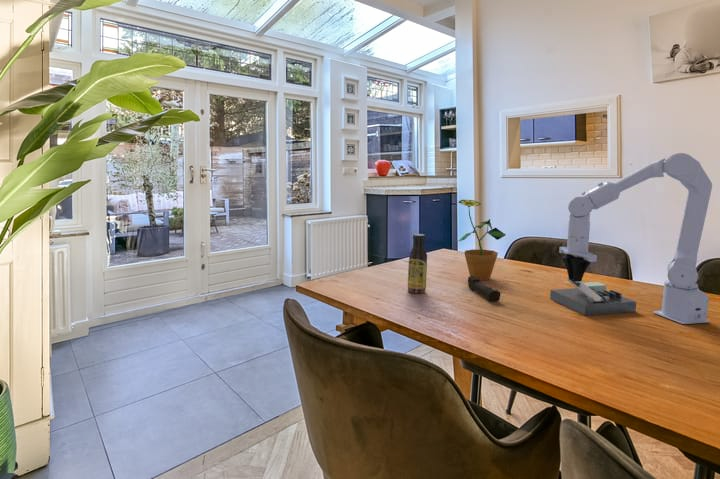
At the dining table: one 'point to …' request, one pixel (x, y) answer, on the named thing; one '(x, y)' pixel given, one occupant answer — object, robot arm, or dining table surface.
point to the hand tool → (483, 289)
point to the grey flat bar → (586, 290)
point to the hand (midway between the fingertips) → (575, 280)
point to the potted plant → (480, 259)
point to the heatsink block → (588, 306)
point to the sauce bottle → (417, 265)
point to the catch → (596, 286)
